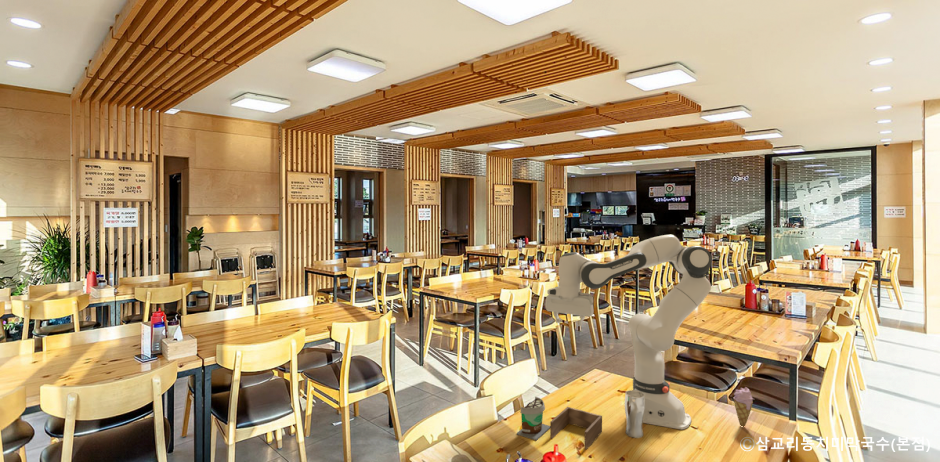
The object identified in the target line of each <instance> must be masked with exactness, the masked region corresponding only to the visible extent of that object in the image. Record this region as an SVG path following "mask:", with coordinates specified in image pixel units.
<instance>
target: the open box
mask: <svg viewBox="0 0 940 462" xmlns="http://www.w3.org/2000/svg"><path fill="white" fill-rule="evenodd" d="M549 424H550V425H549V426H550V429H549V430H550V433H549V437H550V439H552V440H553V438H555V437H556V436H558V434H559V433H560V432H561V431H563V430H564V428H565V427H566V426H567V425H568V424H569V425H572V426H576V427H580V428H582V429H583V428H585V429H586V430H585V431H584V450H587V449H588V448H590V446H591V445H592V444H593V443H594V441H596V439H597V438H598V437H599V436H600V435H601V433H603V415H601V414H597V413H593V412H589V411H585V410H581V409H578V408H574V407H569V406H566V407H565V408H564V409H563V410H562V411H561V412H560V413H558V415H556V416H554V418H553V419H551V421H550V423H549ZM588 450H589V449H588Z"/></svg>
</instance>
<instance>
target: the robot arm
mask: <svg viewBox="0 0 940 462" xmlns="http://www.w3.org/2000/svg"><path fill="white" fill-rule="evenodd" d="M712 259H713V258H712V254H711V252H710V251H709V250H708V249H707V248H705V247H703V246H701V245H691V246H687V247H685V246H683V245H682V243H681V241H680V239H679V238H678V237H677V236H676V235H674V234H664V235H663V234H662V235H659V236H654V237H650V238H648V239H644V240H642V241H639V242H637V243H636V244H634V245H632V246H631V248H630V249H629V252H628V253H627V254H625V256H622V257H619V258H617V259H615V260H612V261H609V262H606V263H605V262H604V263H599V262H597V261H596V260H592V259H590V258H587V257H585V256H583V255H582V254H580V253H579V252H576V251H574V252H573V251H572V252H566V253H563V254H561V256H560V257H559V261H558V277H559V279H558V286H555V287H551V288H549V289H547V295H546V297H545V306H544V307H545V310H546V311H547V312H553V316H554V318H555V322H556V323H557V324H560V323H562V321H561V320H562V318H561V317H559V314H567V315H574V316H579V320H578V321H577V322H576V323H577V324H576V326H577V327H582V326H583V322H584V320H585V318H586V317H588V318H589V317H591V316H593V315H594V296H593V295H592V294H591V293H589V292H588V293H585V292H581V283H583V284H584V285H585V286H586V287H587V288H589V289H593V290H595V289H596V290H597V289H600V288H602V287H604V286H606V284H607V283H608V282H610V281H611V280H613V279H615V278H617V277H620V276H623V275H625V274H629V273H630V272H634V271H638V270H642V269H647V268H651V267H654V266H659V265H662V264H664V263H667V262H668V263H669V264H670V265H671V266H672V268H673V269H674V271H675V272H676V273H678V274H679V275H682V277H681V280H680V281H679V282H678V283H677V284H676V285H675V286H674V287H672V289H670V291H669V292H667V294H665V296H664V297H663V298H662V299H661V300H659V305H658V308H657V310H656V312H654V314H653V315H650V314H647V313H636V314H634V315H632V316H631V317H630V318H629V320H628V324H627V326H628V330H629V333H630V338H631V344H632V350H633V355H634V356H633V357H634V376H633V380H632V390H635V391H640V392H642V393H643V394H644V395H645V396H644V397H645V412H644V417H643V422H642V424H648V425H649V424H650V425H653V426H659V427H665V428H670V429H677V430H685V429H688V427H690V426H691V424H692V416H691V415H690V414H689V413H686V411H685V410H686V409H685V406H684V403H683V401H681V400H680V399H679V398H678V397H677V396H675V394H673V392H671V391H670V385H671V383H670V381H669V382H667V381H666V380H665V360H664V357H663V354H662V352H666V351H668V350H670V349H671V348H672V347H673V346H674V343H675V335H676V333H677V332H678V330H679V328H680V326H681V325H682V323H683V322H684V321H685V320H686V319H687V317H689V316H690V315H691V314H692V313H693V312H694V311H695V310H696V309H697V308H698V307H699V306H700V305H701V304H702V303H703V302H704V300H705V299H706V298H707V296H709V293H710V292H711V289H712V284H711V282H710V281H709V279H708V278H707V276H708V275H709V273H710V268H711V265H712V261H713V260H712ZM689 425H690V426H689Z"/></svg>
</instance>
